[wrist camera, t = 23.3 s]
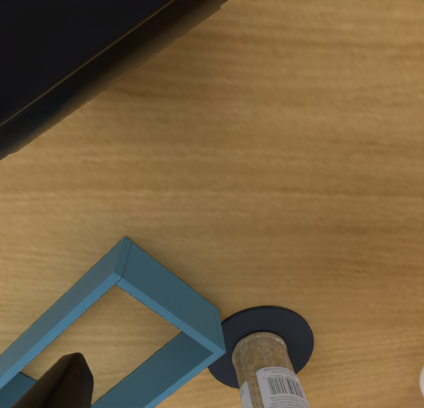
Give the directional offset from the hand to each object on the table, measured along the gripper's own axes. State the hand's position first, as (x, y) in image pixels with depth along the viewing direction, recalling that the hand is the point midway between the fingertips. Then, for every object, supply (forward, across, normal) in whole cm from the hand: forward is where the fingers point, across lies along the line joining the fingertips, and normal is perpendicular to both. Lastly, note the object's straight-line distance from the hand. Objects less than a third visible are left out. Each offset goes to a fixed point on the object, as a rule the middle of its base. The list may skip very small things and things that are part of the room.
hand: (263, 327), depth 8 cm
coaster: (+14, -1, +15) cm, 20 cm away
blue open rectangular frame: (+13, +11, +10) cm, 20 cm away
